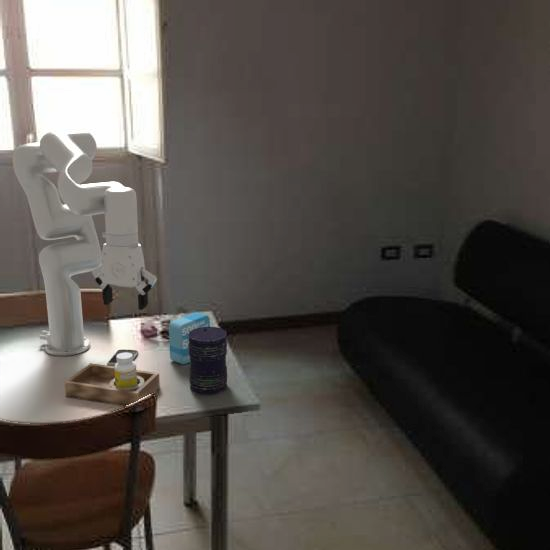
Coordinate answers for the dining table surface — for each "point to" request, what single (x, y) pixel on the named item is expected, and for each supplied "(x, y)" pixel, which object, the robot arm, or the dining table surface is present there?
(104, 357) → the dining table surface
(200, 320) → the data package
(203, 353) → the storage jar
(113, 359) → the cell phone
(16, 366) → the dining table surface
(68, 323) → the robot arm
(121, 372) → the supplement bottle
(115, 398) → the walnut box
